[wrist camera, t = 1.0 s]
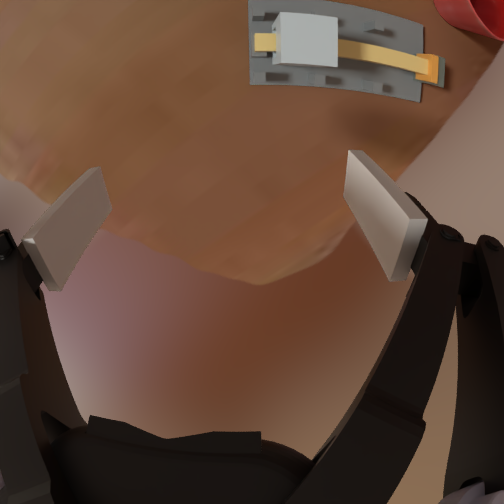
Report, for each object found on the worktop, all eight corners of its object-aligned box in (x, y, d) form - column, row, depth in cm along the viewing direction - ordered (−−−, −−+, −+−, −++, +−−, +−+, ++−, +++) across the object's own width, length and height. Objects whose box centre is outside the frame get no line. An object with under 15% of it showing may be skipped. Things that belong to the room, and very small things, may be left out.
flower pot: (454, 48, 24) (498, 54, 16) (410, -12, 20) (451, -23, 12) (484, 24, 20) (526, 28, 12) (445, -32, 15) (485, -40, 7)
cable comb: (248, -2, 23) (248, -18, 18) (419, 25, 23) (448, 23, 18) (250, 84, 30) (251, 87, 25) (416, 101, 30) (444, 111, 25)
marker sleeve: (271, 25, 24) (280, 11, 17) (316, 28, 24) (337, 17, 17) (272, 65, 27) (281, 62, 20) (316, 67, 27) (337, 67, 20)
